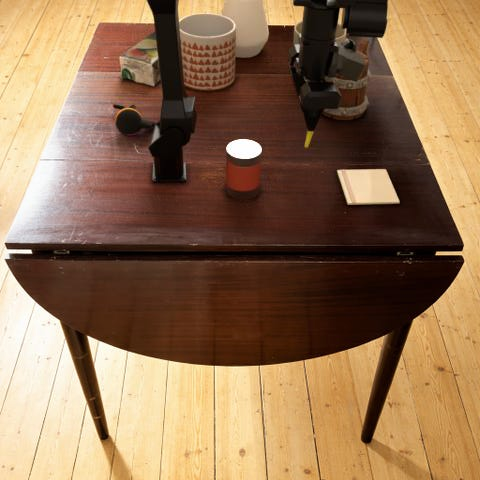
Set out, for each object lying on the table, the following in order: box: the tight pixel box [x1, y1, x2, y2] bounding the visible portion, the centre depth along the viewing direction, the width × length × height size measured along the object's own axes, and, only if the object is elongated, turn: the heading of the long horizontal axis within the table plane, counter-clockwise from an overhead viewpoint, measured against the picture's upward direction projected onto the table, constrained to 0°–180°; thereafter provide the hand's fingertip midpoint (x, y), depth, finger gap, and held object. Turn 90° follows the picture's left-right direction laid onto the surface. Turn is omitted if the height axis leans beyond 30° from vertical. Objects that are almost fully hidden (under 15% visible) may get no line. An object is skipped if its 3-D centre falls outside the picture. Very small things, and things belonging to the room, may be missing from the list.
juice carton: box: [119, 30, 161, 87], centre depth 149 cm, size 20×10×6 cm, turn 155°
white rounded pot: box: [220, 0, 270, 59], centre depth 155 cm, size 13×13×14 cm
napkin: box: [336, 168, 400, 206], centre depth 119 cm, size 11×10×1 cm
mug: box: [322, 38, 372, 121], centre depth 136 cm, size 12×14×15 cm
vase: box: [179, 12, 236, 92], centre depth 144 cm, size 14×14×13 cm
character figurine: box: [112, 103, 157, 137], centre depth 132 cm, size 10×6×12 cm
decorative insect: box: [304, 129, 315, 148], centre depth 112 cm, size 13×3×10 cm
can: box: [225, 139, 262, 201], centre depth 114 cm, size 6×6×9 cm
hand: (307, 121), depth 111 cm, fingers closed on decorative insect, 6 cm apart
